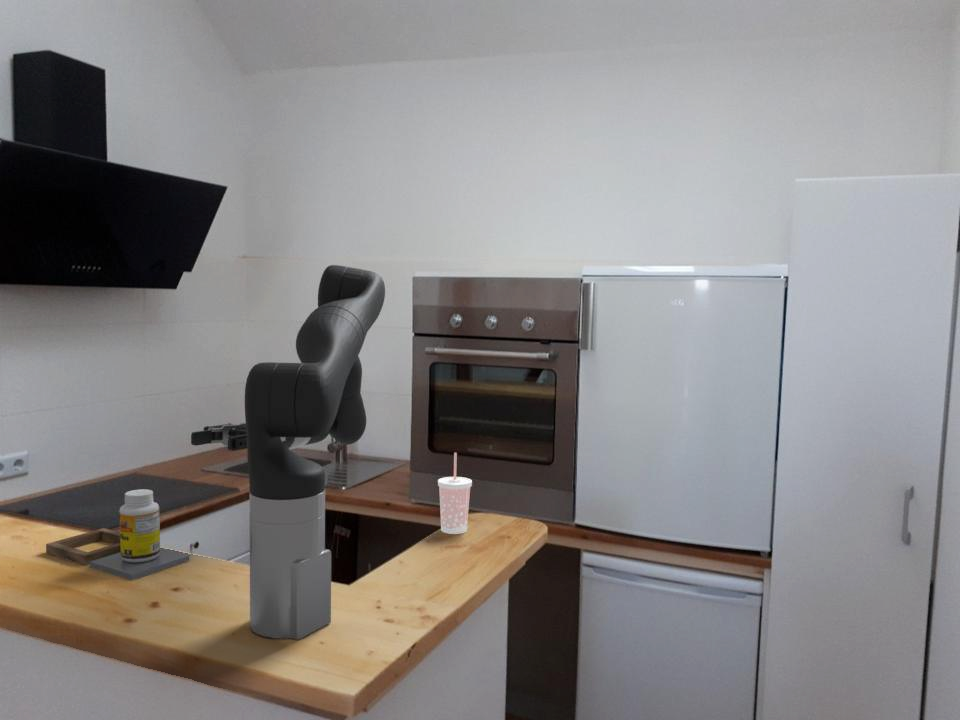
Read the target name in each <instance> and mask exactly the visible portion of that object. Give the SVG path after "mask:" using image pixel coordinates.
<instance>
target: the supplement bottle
mask: <svg viewBox="0 0 960 720" xmlns="http://www.w3.org/2000/svg"><path fill="white" fill-rule="evenodd" d="M118 515H119V532H120V546H121V558H122V559H123V560H124V561H126V562H131V563H139V562H146V561H150V560H153V559H155V558H156V557H158V556H159V554H160V547H161V537H160V536H161V531H160V530H161V528H160V526H161V525H160V523H161V522H160V521H161V520H160V506H159V504H158V503H157V502H155V501H154V491H153V490H152V489H147V488H146V489H144V488H143V489H142V488H141V489H140V488H139V489H134V490H128V491H125V493H124V504H123V505H121V506H120V508H119V514H118Z"/></svg>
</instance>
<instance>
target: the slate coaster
mask: <svg viewBox="0 0 960 720" xmlns="http://www.w3.org/2000/svg"><path fill="white" fill-rule="evenodd" d="M189 561H190V555H189V554H186V553H183V552H178V551H175V550H172V549H167V548H164V547H161V546H160V554H159V556H158V557H156V558H155V559H153V560H150V561H146V562H139V563H131V562H126V561H124V560H123V559H122V558H121V552H119V553H116V554H112V555H109V556H106V557H103V558H100V559H96V560H93V561H90V564H89V567H90V568H92V569H96V570H99V571H102V572H104V573H109V574H112V575H115V576H117V577H118V576H119V577H122V578H125V579H128V580H132V581H134V580H137V579H140V578H142V577H146V576H148V575H151V574H154V573H157V572H160V571H162V570H166V569H169V568H172V567H174V566H177V565H180V564H182V563H185V562H189Z"/></svg>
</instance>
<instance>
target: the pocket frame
mask: <svg viewBox="0 0 960 720" xmlns="http://www.w3.org/2000/svg"><path fill="white" fill-rule="evenodd" d="M99 541H105V542H107V543H108V542H109V543H111V545H108V546H104V547H100V548H97V549H94V550H90V551H85V550H81V549H79V547H82V546H85V545H89V544H93V543H96V542H99ZM75 547H76V548H75ZM119 552H121V546H120V531H116V530H113V529H112V530H111V529H109V528H105V527H103V528H99V529H96V530H93V531H87V532H84V533H81V534H77V535H74V536H70V537H66V538H62V539H59V540H56V541H51V542H48V543H45V553H46V554H47V553H48V555H50V554H52V555H51V556H53V555H55V556H54V557H57V556H58V558H60V557H61V558H60V559H63V558H64V559H63V560H66V559H67V561H69V560H70V562H72V563H76V562H77V563H76V564H79V563H80V564H79V565H82V564H83V566H88V565H89V566H90V561H93V560H96V559H100V558H103V557H106V556H109V555H112V554H116V553H119Z"/></svg>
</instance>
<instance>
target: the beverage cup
mask: <svg viewBox="0 0 960 720" xmlns="http://www.w3.org/2000/svg"><path fill="white" fill-rule="evenodd" d="M457 455H458V452H454V453H453V476H444V477H441V478H439V479H437V487H439V488H438V489H439V491H438V492H439V510H440V511H439V512H440V531H441V532H442V533H445V534H449V535H459V534H464V533H467V530H468V520H469V508H470V495H471V494H470V493H471V487H473V486H472V485H473V480H472V479H471V478H468V477H463V476H457V467H458V465H457V461H458V459H457V458H458V457H457Z"/></svg>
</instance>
